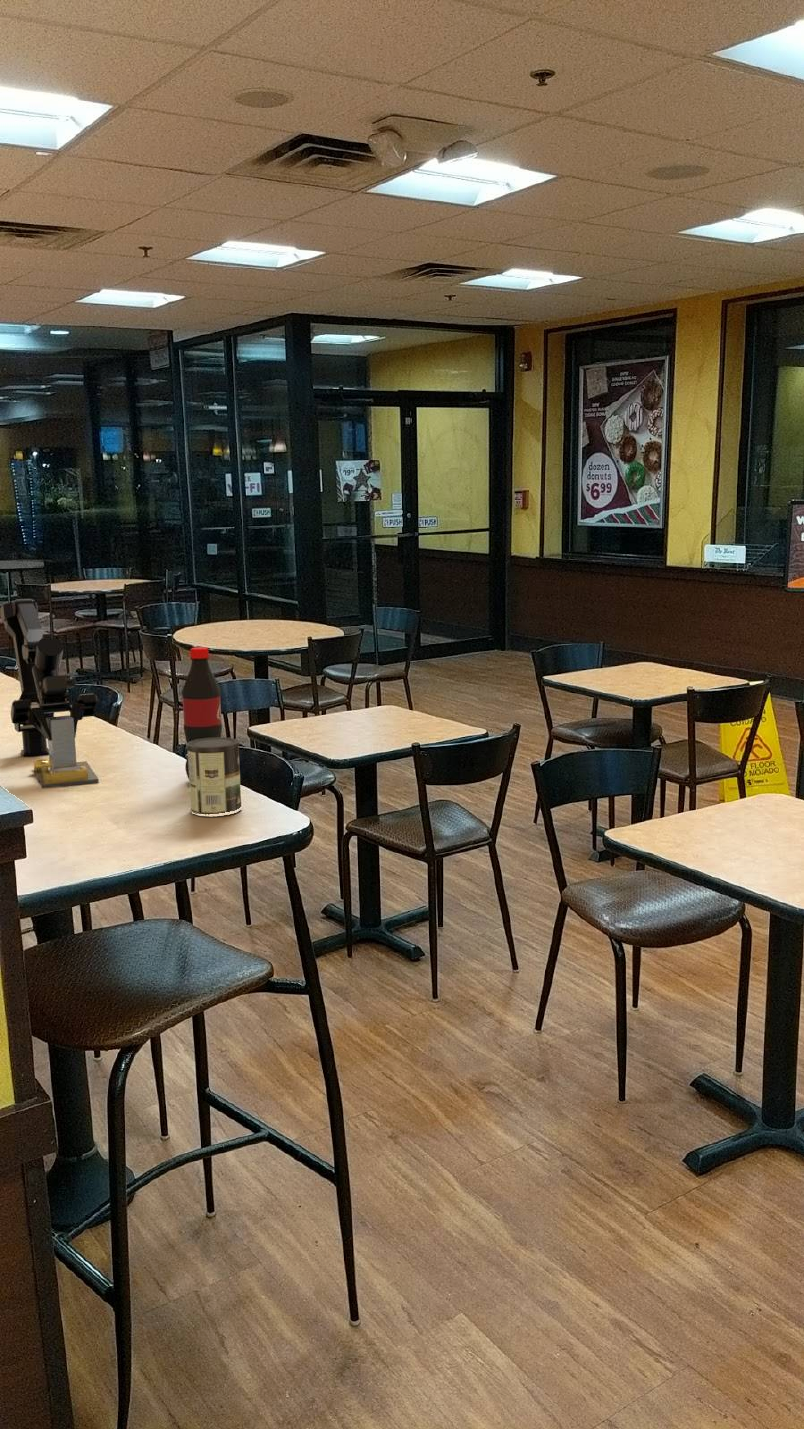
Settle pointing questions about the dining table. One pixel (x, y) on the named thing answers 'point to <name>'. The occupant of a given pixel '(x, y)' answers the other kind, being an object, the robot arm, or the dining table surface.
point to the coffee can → (214, 775)
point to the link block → (61, 742)
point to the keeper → (64, 774)
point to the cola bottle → (201, 700)
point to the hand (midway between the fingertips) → (62, 738)
